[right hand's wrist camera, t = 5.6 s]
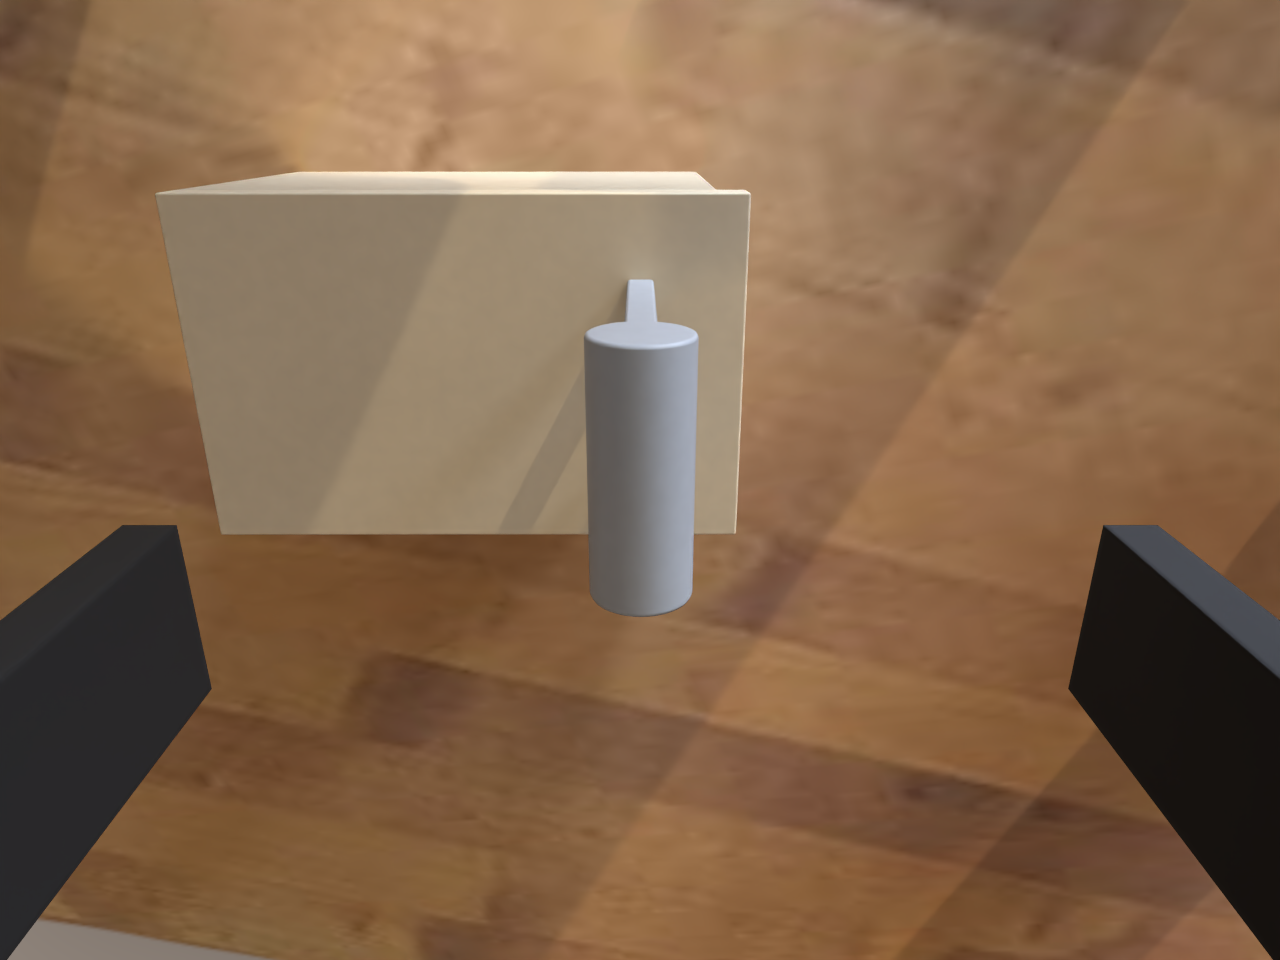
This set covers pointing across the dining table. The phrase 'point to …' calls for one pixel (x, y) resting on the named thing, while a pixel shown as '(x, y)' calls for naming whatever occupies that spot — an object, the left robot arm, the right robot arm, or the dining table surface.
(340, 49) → the dining table surface
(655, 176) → the chest
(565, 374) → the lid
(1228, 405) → the dining table surface
